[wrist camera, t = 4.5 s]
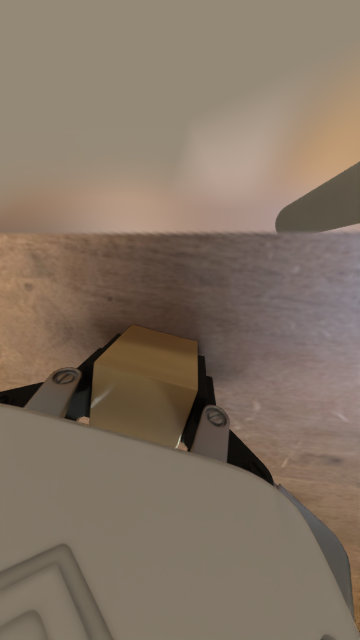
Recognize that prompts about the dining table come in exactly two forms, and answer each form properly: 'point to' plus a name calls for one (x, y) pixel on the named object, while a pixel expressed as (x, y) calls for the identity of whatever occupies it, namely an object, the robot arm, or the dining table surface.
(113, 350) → the block
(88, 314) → the dining table surface
